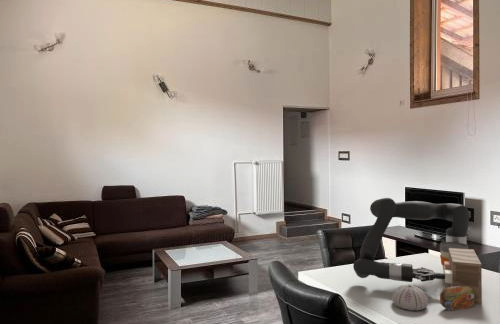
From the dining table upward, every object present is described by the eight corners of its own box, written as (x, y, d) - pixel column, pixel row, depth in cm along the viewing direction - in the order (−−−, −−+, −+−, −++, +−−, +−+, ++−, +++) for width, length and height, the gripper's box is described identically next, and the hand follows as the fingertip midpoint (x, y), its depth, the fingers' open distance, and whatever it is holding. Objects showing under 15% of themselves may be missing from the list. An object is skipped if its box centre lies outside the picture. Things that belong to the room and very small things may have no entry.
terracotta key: (444, 269, 178) (444, 261, 178) (461, 271, 176) (461, 262, 176) (445, 273, 174) (445, 264, 174) (462, 274, 171) (462, 265, 171)
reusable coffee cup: (461, 271, 195) (461, 241, 194) (473, 279, 182) (473, 247, 182) (435, 271, 196) (435, 241, 196) (445, 279, 183) (445, 247, 183)
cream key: (444, 279, 166) (444, 269, 166) (463, 280, 163) (463, 271, 163) (445, 282, 161) (445, 273, 161) (464, 284, 158) (464, 275, 158)
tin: (444, 312, 147) (444, 290, 147) (438, 309, 150) (438, 287, 150) (476, 307, 151) (476, 285, 151) (470, 304, 154) (469, 283, 154)
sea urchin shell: (418, 316, 144) (417, 294, 144) (385, 305, 154) (384, 285, 154) (434, 306, 152) (434, 286, 152) (402, 297, 163) (402, 278, 163)
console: (448, 282, 179) (448, 247, 179) (473, 284, 175) (473, 249, 175) (453, 301, 157) (452, 261, 157) (481, 304, 153) (481, 263, 153)
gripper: (400, 267, 164) (445, 272, 157) (401, 259, 176) (444, 263, 170) (400, 285, 165) (446, 290, 158) (401, 276, 177) (444, 280, 170)
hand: (444, 276), depth 164 cm, fingers closed
